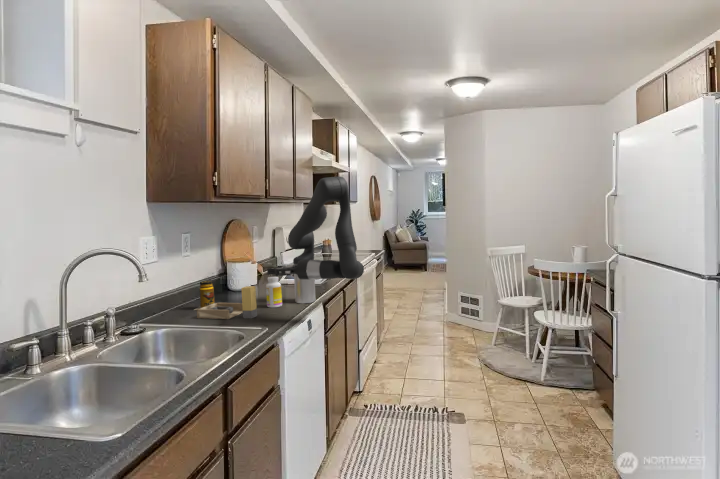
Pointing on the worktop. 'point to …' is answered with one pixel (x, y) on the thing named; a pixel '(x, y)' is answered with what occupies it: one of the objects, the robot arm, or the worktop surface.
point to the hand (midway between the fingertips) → (272, 269)
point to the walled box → (220, 311)
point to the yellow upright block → (249, 302)
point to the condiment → (206, 294)
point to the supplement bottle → (273, 292)
